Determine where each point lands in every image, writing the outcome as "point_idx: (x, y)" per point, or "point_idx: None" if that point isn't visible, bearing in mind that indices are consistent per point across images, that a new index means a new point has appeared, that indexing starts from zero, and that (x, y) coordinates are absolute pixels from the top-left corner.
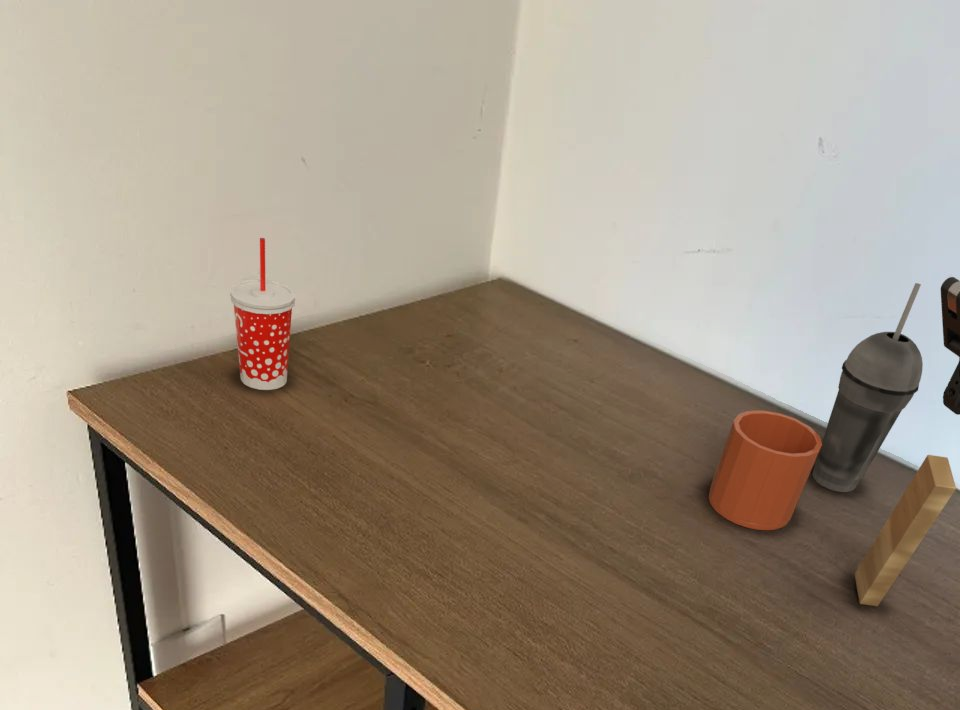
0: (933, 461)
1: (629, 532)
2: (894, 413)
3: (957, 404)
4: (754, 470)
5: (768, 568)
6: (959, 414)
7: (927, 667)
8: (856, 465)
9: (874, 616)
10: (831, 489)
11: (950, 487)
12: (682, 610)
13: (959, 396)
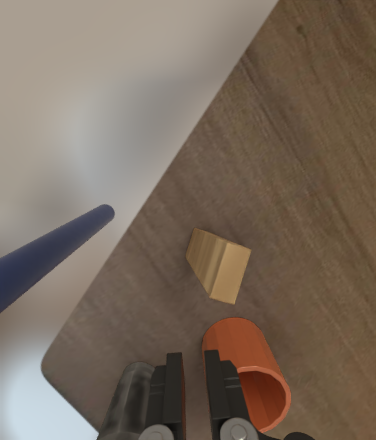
0: (233, 291)
1: (343, 317)
2: (114, 431)
3: (227, 364)
4: (273, 359)
5: (258, 274)
6: (215, 349)
7: (193, 159)
8: (138, 381)
9: (202, 217)
10: (149, 365)
11: (234, 245)
12: (350, 233)
13: (235, 375)
